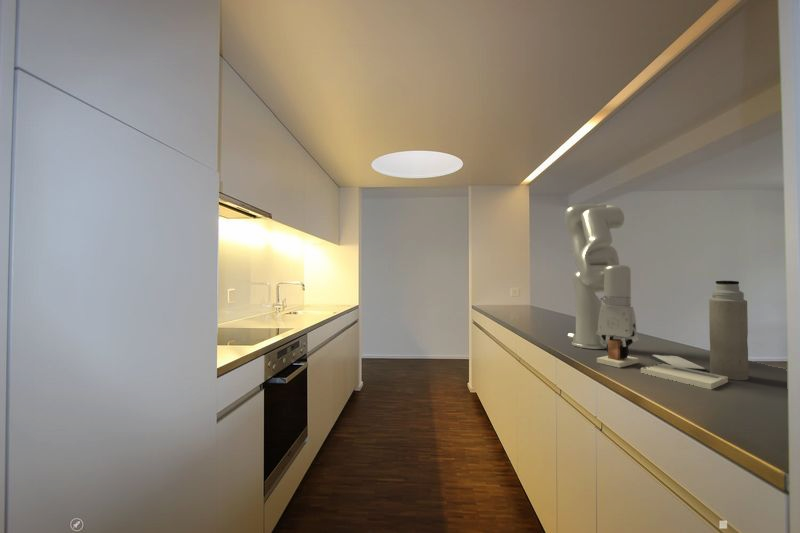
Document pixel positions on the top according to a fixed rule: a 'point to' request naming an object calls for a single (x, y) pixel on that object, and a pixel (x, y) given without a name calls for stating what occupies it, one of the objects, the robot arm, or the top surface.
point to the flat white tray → (685, 375)
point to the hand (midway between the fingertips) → (617, 356)
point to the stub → (616, 355)
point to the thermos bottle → (728, 331)
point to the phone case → (677, 362)
